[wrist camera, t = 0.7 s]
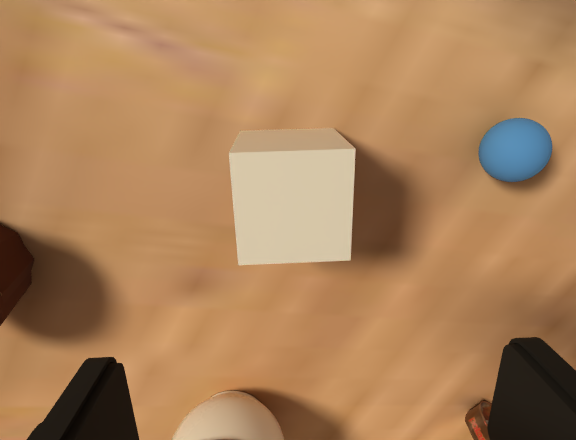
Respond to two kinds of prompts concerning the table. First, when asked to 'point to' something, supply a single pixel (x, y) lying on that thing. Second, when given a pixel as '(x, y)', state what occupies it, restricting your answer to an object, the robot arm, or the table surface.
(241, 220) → the beige cube
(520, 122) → the ball
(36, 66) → the table surface
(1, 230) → the muffin
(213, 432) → the lidded bowl
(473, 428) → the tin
